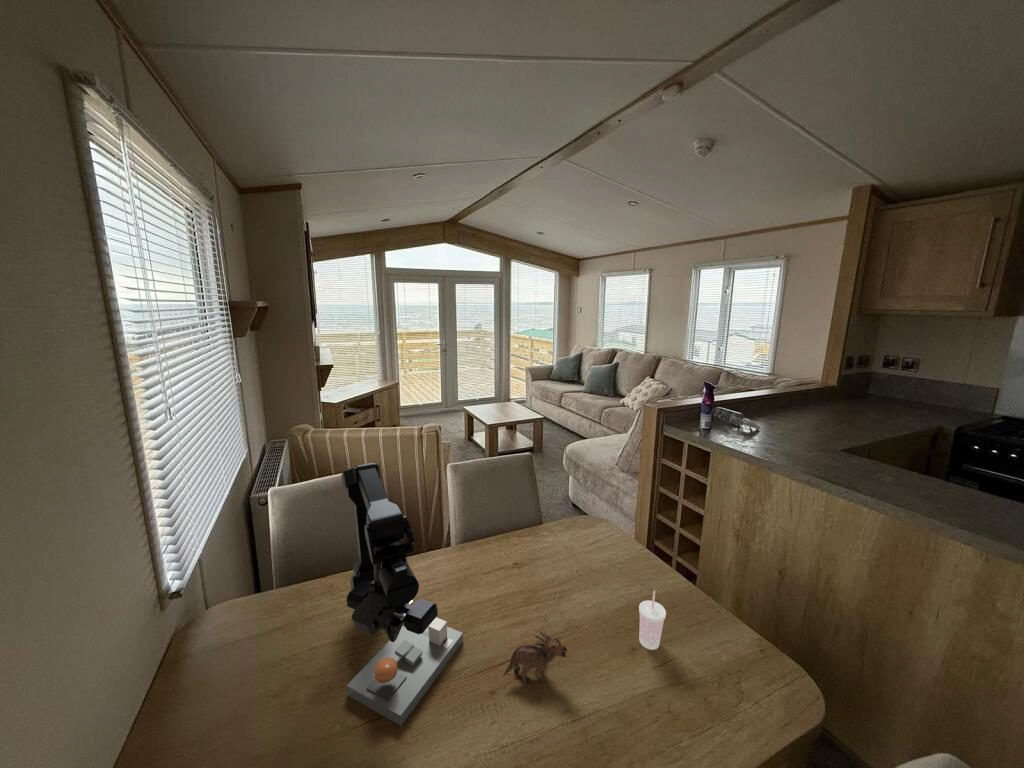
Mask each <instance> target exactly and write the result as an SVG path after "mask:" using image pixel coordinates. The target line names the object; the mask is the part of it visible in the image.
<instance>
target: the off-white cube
mask: <svg viewBox="0 0 1024 768" xmlns="http://www.w3.org/2000/svg"><path fill="white" fill-rule="evenodd" d="M447 627H448V621H446V620H444V619H442V618H439V617H437V616H436V618H435V619H434V620H433V622H432V623H431V624H430V625H429V641H430V642H432V643H435V644H437V645H439V646H440V645H441V644H442V642H443V641H444V640H445V639H446V637H447Z"/></svg>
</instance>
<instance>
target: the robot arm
mask: <svg viewBox="0 0 1024 768" xmlns="http://www.w3.org/2000/svg"><path fill="white" fill-rule="evenodd" d="M382 480H383V478H382V473H381V466H380V464H377V462H366V463H362V464H357V465H355V466H353V467H347V468H346V470H345V471H343V472H342V473H341V484H342V488H343V489H344V490H345V493H346V495H347V497H348V498H349V499H350V500H351V501H352V503H353V507H354V508H353V509H354V517H355V518H354V519H355V521H354V522H355V529H356V530H355V531H356V538H357V539H356V541H357V551H358V557H357V559H356V561H355V563H354V564H353V566H352V570H353V576H351V578H350V580H349V583H350V591H349V592H348V594H347V596H346V607H347V608H350V609H353V610H352V615H351V619H352V621H353V624H354V625H355V627H356V628H357V630H358V631H362V632H365V633H367V634H369V635H373V636H374V635H375V634H377V633H378V632H379V631H380V630H381V631H382V630H383V631H384V632H385V634H386V636H387V637H388V639H389V640H390V641H391V642H395V641H396V639H397V637H398V635H399V632H400V630H401V628H402V627H403V626H405V628H406V629H407V630H408V631H411V632H413V633H416V634H422V633H423V632H424V631H425V630H426V629H427V627H428V626H429V625H430V624H431V623H432V621H434V619H435V618H436V617H437V616H438V611H439V610H438V605H437V603H434V602H431V601H429V600H426V599H422V598H419V599H418V600H417V601H416V602H415V603H414V604H413V600H414V599H415V598H416V596H417V594H418V592H419V589H420V583H419V581H418V579H417V577H416V575H415V574H414V571H413V569H412V567H411V566H410V564H409V562H408V561H407V555H411V554H414V553H415V550H414V546H413V544H414V543H415V537H414V533H413V530H412V527H411V526H412V525H411V523H410V519H408V516H407V515H406V514H403V512H402V509H401V507H400V506H399V505H398V504H396V503H394V502H391V501H390V499H389V498H388V495H387V493H386V489H385V488H384V485H383V483H382ZM404 539H405V542H404V543H401V544H400V543H399V542H402V541H404Z"/></svg>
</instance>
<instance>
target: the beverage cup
mask: <svg viewBox="0 0 1024 768" xmlns="http://www.w3.org/2000/svg"><path fill="white" fill-rule="evenodd" d="M655 599H656V590H652V600H650V599H649V600H643V601H642V602H640V603H639V605H638V612H639V631H638V632H639V636H638V637H639V638H638V639H639V643H640V644H641V645H642V646H643V647H644V648H645V649H647V650H652V651H653V650H657V649H658V648H659V646H660V643H661V638H662V637H661V636H662V633H663V628H664V627H663V626H664V622H665V620H666V617H667V610H666V609H665V607H664V606H663V605H662V604H660V603H659V602H657V601H655Z"/></svg>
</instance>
